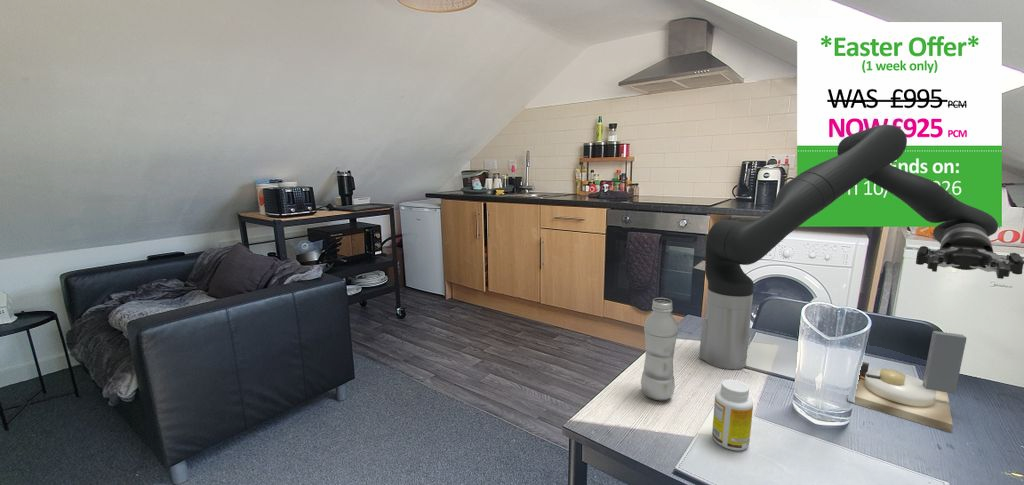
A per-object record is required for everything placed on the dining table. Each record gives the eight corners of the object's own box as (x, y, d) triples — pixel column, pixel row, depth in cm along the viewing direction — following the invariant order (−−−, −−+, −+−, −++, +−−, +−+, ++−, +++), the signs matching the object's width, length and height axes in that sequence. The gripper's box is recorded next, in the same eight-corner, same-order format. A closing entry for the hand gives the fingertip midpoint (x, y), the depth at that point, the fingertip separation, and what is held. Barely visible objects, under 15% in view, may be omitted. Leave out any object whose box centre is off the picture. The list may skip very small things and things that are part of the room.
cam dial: (872, 397, 78) (882, 333, 76) (858, 374, 87) (868, 316, 84) (963, 416, 72) (978, 346, 70) (939, 389, 81) (952, 326, 78)
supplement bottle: (754, 442, 69) (760, 386, 67) (740, 457, 65) (746, 398, 63) (720, 426, 73) (725, 373, 71) (705, 439, 69) (710, 384, 67)
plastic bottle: (638, 401, 81) (643, 304, 77) (641, 384, 87) (646, 293, 83) (673, 408, 78) (680, 308, 75) (674, 390, 85) (680, 297, 81)
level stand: (846, 401, 80) (850, 380, 79) (853, 374, 90) (856, 355, 89) (950, 432, 70) (955, 408, 70) (945, 399, 80) (950, 377, 80)
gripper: (921, 228, 93) (917, 247, 82) (1020, 233, 83) (1030, 256, 72) (917, 259, 95) (912, 282, 84) (1013, 268, 85) (1022, 295, 74)
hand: (967, 270), depth 78 cm, fingers open, 8 cm apart
